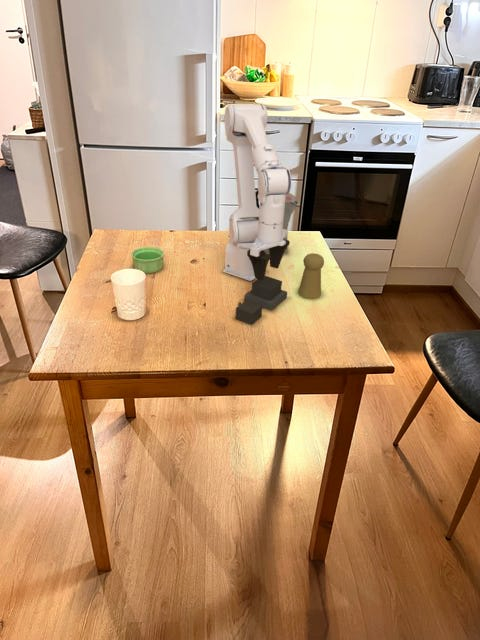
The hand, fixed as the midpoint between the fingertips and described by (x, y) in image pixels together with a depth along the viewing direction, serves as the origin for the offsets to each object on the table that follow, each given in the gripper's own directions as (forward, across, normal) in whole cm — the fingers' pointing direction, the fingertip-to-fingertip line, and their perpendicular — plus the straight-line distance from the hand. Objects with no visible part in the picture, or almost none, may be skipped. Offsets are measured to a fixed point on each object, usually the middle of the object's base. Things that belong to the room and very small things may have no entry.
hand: (266, 272), depth 123 cm
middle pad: (+6, +1, 0) cm, 6 cm away
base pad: (+8, +1, 0) cm, 8 cm away
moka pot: (+8, +29, +14) cm, 33 cm away
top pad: (+8, -9, -1) cm, 12 cm away
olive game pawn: (+8, +11, -8) cm, 16 cm away
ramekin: (+8, -3, +36) cm, 37 cm away
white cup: (+8, -24, +23) cm, 35 cm away
